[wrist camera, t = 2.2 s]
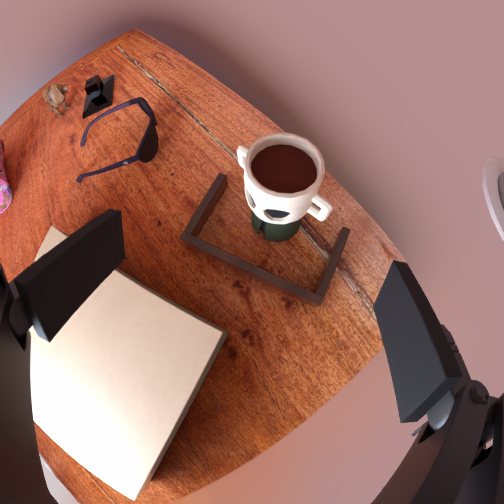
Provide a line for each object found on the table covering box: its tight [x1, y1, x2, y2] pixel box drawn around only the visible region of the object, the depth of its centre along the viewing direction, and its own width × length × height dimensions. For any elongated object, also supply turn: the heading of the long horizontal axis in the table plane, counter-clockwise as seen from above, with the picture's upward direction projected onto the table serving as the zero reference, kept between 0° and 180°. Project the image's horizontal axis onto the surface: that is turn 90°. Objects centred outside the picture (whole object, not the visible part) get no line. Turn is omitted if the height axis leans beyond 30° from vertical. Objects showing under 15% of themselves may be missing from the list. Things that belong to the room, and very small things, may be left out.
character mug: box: [237, 132, 332, 242], centre depth 28 cm, size 11×7×13 cm, turn 51°
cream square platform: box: [29, 225, 229, 501], centre depth 27 cm, size 27×26×6 cm
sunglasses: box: [76, 97, 158, 183], centre depth 37 cm, size 14×16×5 cm
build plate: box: [83, 74, 115, 119], centre depth 42 cm, size 12×7×5 cm, turn 18°
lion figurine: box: [42, 83, 70, 118], centre depth 40 cm, size 15×5×9 cm, turn 60°
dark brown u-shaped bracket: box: [180, 173, 350, 307], centre depth 33 cm, size 18×10×2 cm, turn 64°
